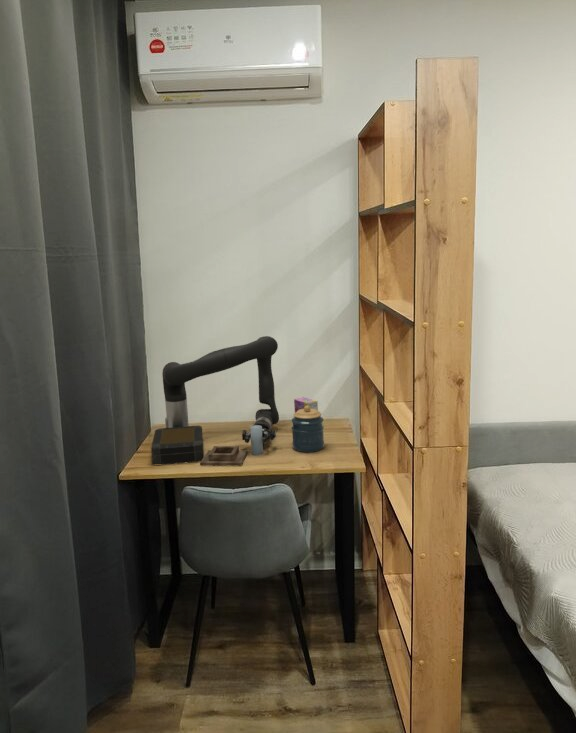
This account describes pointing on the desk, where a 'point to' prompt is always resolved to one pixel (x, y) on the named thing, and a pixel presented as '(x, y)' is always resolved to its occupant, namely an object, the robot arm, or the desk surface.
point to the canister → (307, 430)
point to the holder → (224, 456)
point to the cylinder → (256, 440)
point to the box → (305, 403)
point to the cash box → (177, 445)
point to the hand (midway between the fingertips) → (255, 440)
